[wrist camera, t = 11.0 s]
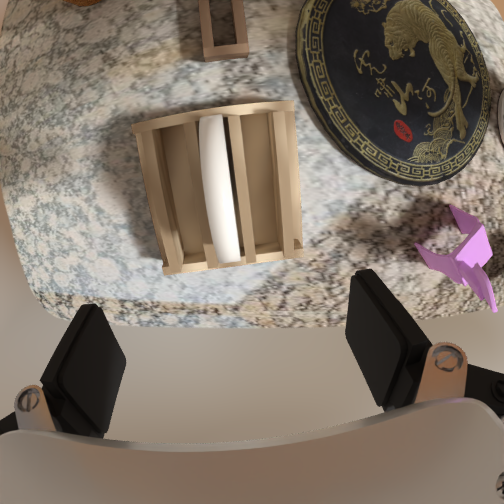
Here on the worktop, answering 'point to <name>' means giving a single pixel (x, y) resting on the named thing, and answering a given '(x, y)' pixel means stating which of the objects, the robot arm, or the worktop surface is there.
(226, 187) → the side plate
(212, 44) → the plate stand
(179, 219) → the dish rack
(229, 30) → the worktop surface
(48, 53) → the worktop surface
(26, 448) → the robot arm
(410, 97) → the decorative plate
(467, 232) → the toy chair
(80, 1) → the disposable coffee cup
